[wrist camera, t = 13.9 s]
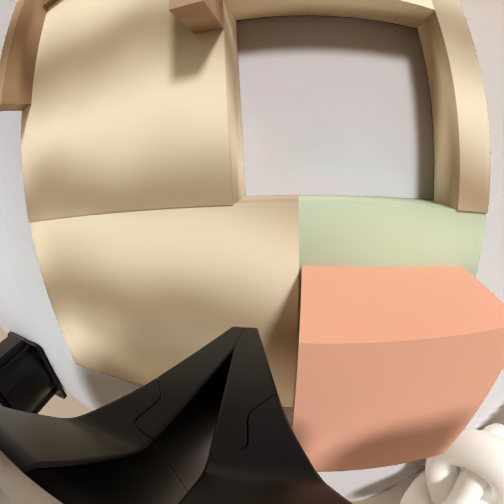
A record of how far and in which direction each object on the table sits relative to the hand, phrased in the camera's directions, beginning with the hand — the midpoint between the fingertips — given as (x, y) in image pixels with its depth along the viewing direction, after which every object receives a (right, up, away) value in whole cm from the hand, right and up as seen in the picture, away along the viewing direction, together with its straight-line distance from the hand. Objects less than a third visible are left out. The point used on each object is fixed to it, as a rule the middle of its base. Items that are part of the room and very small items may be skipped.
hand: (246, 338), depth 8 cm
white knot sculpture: (+19, -14, +5) cm, 24 cm away
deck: (-1, +7, +1) cm, 7 cm away
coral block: (+5, -1, +1) cm, 5 cm away
